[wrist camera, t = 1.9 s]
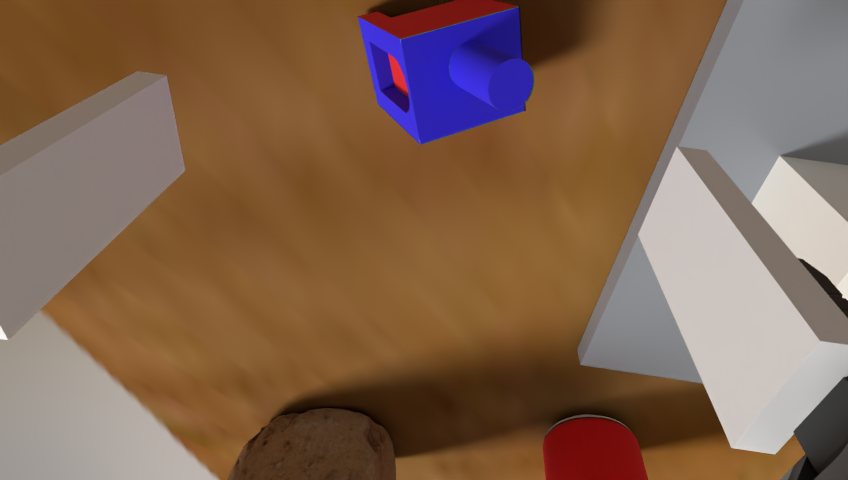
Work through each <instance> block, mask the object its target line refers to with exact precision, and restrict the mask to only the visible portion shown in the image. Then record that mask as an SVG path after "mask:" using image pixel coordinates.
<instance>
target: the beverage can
mask: <svg viewBox="0 0 848 480" xmlns="http://www.w3.org/2000/svg"><path fill="white" fill-rule="evenodd" d="M543 454H544V465H545V476H546V480H648V477H647V474H646V470H645V466H644V462H643V458H642V455H641V451H640V447H639V443H638V441H637V439H636V437H635V436H634V434H633V433H632V432H631V431H630V429H629V428H628V427H627V426H625V425H624V424H623V423H621V422H619V421H617V420H615V419H612V418H609V417H605V416H600V415H591V414H584V415H576V416H572V417H569V418H566V419H564V420H561V421H559V422H558V423H556V424H555V425H553V426H552V427H551V428H550V429H549V430H548V432H547V433H546V436H545V439H544V443H543Z"/></svg>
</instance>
